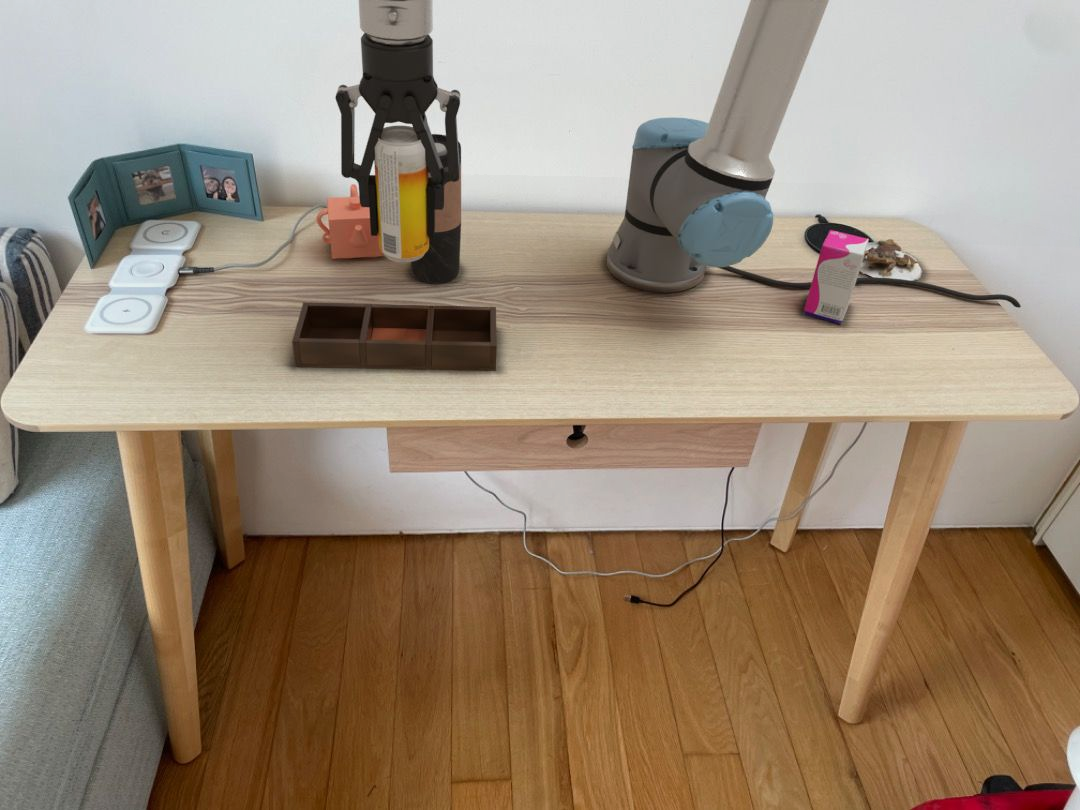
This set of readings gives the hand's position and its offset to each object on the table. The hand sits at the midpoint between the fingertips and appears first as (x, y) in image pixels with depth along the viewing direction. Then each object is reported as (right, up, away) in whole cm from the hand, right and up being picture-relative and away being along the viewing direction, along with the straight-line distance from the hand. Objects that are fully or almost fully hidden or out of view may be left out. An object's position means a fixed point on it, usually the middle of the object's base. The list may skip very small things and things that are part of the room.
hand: (403, 230), depth 109 cm
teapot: (-11, +3, +31) cm, 33 cm away
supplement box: (+59, -7, +25) cm, 64 cm away
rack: (-2, -14, +11) cm, 18 cm away
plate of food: (+72, +1, +37) cm, 81 cm away
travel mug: (+1, -1, +27) cm, 27 cm away
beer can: (0, -2, +2) cm, 3 cm away
